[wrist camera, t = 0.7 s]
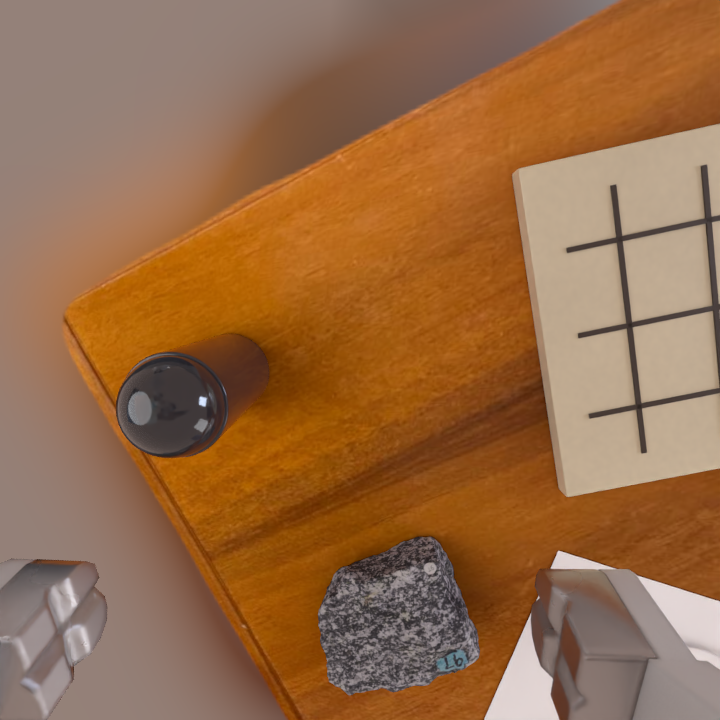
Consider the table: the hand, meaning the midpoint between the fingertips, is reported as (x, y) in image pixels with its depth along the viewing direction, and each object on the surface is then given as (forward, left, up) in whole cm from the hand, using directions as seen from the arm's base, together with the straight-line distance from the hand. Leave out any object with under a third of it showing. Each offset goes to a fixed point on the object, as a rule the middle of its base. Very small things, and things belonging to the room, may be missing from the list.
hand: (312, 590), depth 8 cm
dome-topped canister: (-2, -7, -19) cm, 21 cm away
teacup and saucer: (+28, +15, -20) cm, 37 cm away
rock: (+16, 0, -20) cm, 25 cm away
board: (0, +22, -19) cm, 29 cm away
